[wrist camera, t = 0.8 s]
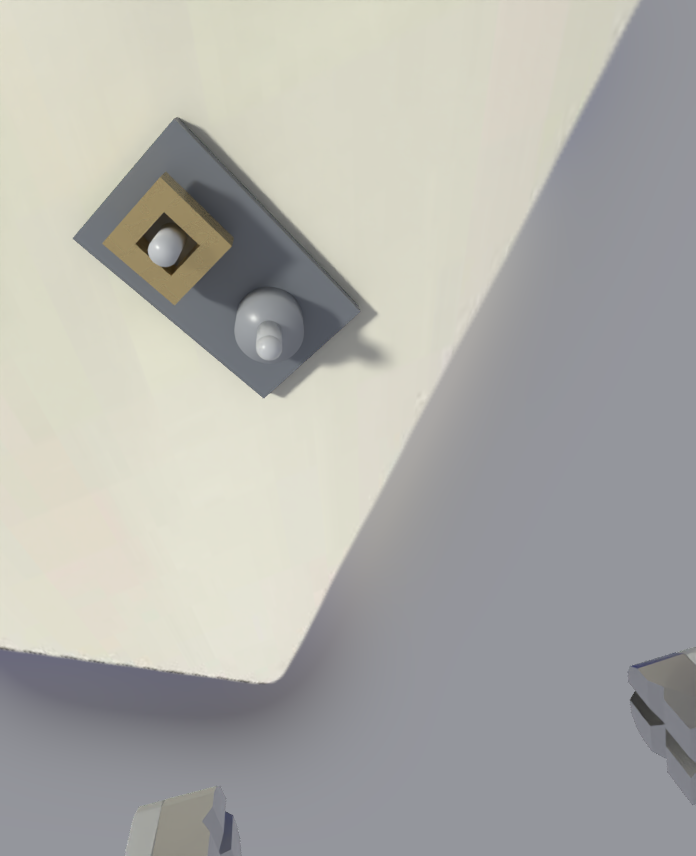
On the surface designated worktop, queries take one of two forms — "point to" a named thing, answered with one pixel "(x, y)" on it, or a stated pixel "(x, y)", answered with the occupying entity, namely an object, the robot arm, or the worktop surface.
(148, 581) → the worktop surface
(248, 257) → the mount board
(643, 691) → the robot arm
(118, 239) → the tan square ring
